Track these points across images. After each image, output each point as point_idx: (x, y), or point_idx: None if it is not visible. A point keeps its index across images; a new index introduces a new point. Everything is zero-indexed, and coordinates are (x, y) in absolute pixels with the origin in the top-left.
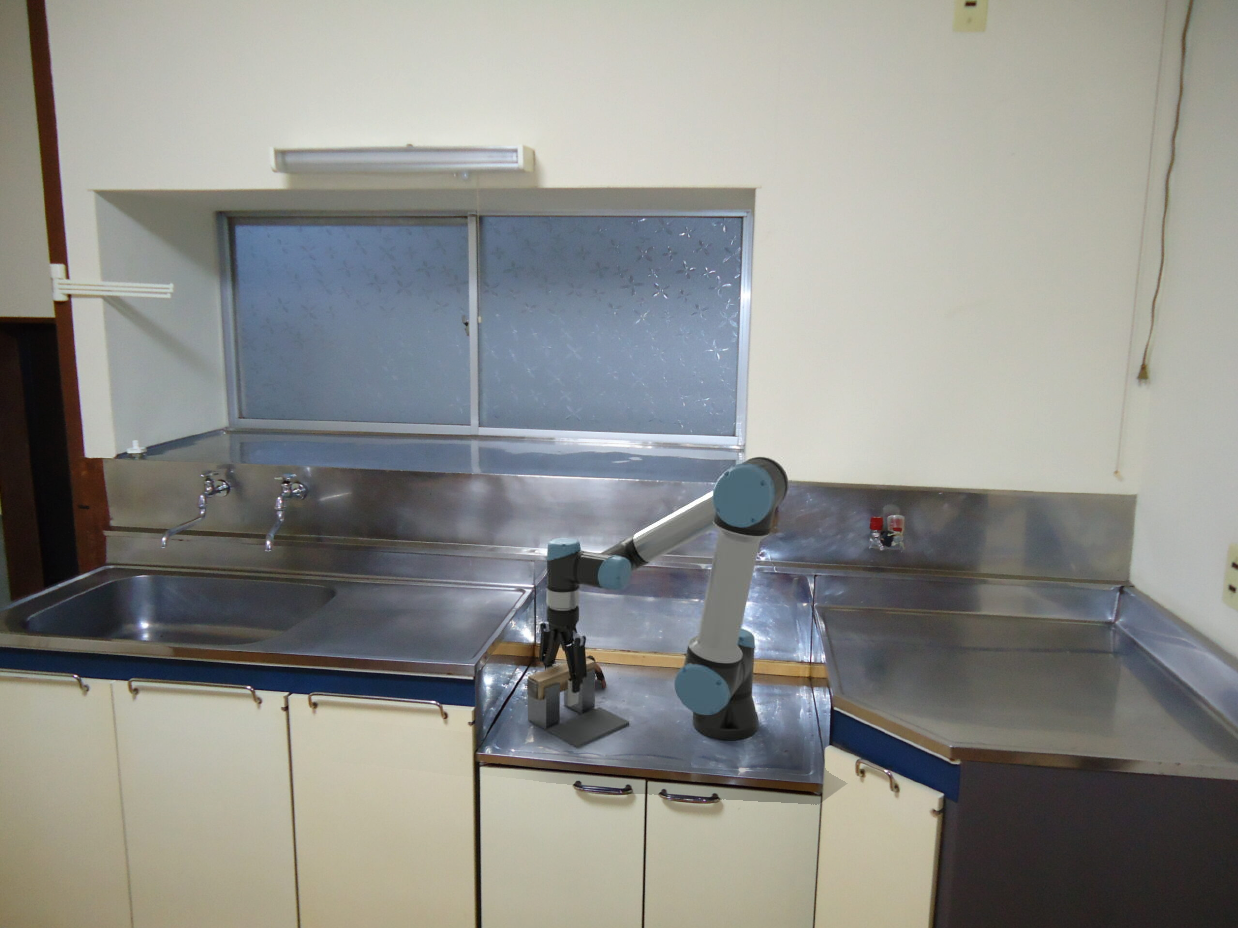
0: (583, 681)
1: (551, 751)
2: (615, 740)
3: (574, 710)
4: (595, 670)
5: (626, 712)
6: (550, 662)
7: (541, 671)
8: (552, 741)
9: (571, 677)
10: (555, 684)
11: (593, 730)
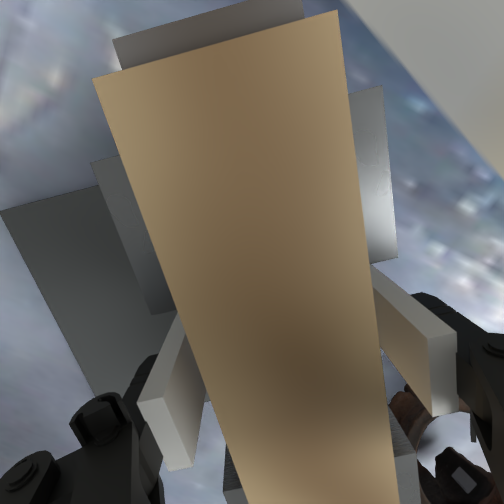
0: (227, 447)
1: (7, 103)
2: (25, 341)
3: None
4: (437, 488)
5: None
6: (489, 404)
7: (363, 244)
8: (86, 145)
9: (108, 430)
10: (147, 276)
11: (93, 309)
